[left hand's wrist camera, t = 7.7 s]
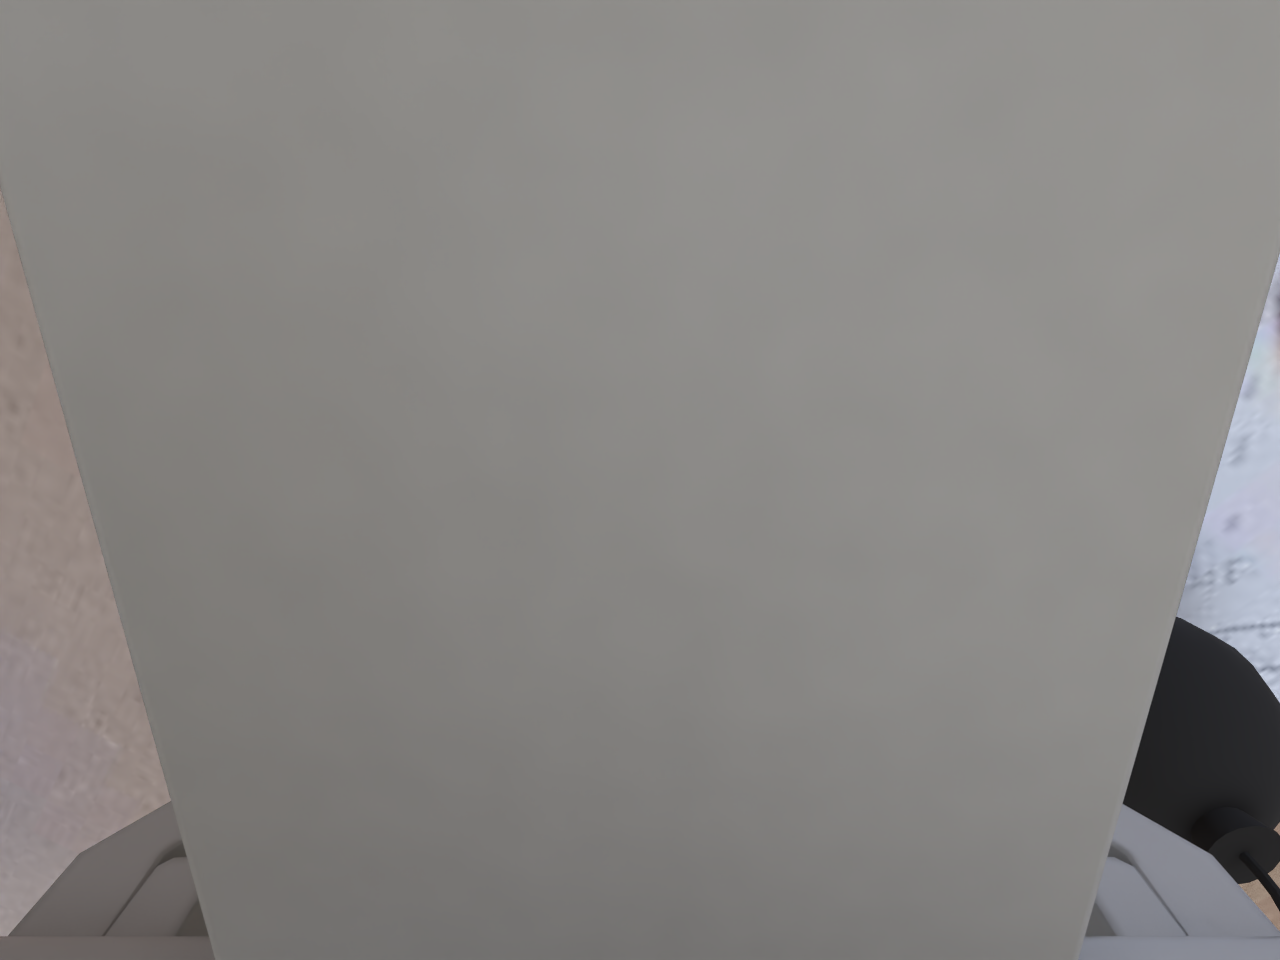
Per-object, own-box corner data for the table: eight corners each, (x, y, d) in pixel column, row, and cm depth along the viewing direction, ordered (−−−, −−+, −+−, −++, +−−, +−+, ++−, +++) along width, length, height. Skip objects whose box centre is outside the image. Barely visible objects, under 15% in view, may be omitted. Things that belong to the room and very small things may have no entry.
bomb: (1155, 533, 26) (1559, 791, 14) (1187, 710, 28) (1552, 1048, 17) (932, 608, 27) (1145, 904, 15) (984, 772, 29) (1199, 1129, 18)
